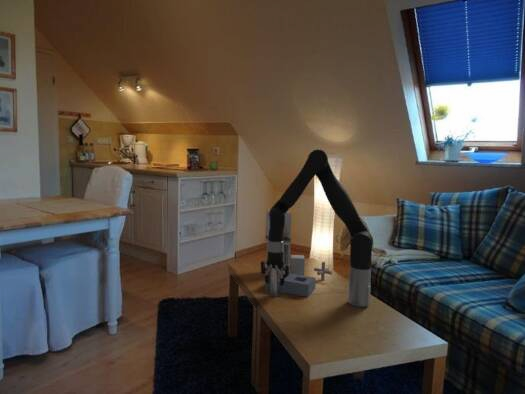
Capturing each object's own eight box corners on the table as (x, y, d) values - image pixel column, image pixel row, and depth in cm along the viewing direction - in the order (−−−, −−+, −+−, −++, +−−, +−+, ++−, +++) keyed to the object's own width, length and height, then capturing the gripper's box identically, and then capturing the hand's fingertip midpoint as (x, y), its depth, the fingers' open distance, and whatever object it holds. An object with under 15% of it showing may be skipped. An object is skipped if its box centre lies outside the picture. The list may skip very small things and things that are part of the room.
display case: (264, 271, 227) (266, 210, 222) (282, 270, 230) (284, 210, 226) (270, 277, 216) (272, 213, 212) (289, 276, 219) (291, 213, 215)
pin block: (315, 289, 200) (315, 277, 199) (308, 297, 189) (308, 284, 188) (274, 282, 208) (274, 271, 208) (265, 289, 198) (265, 277, 197)
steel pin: (279, 295, 190) (280, 266, 189) (276, 298, 187) (277, 269, 185) (271, 293, 192) (272, 265, 190) (268, 296, 188) (269, 267, 187)
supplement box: (304, 281, 210) (305, 258, 209) (290, 281, 211) (290, 258, 209) (302, 277, 218) (303, 254, 216) (289, 277, 218) (290, 254, 216)
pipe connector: (326, 284, 207) (327, 266, 206) (309, 280, 213) (310, 262, 212) (335, 280, 215) (336, 262, 213) (319, 276, 221) (319, 258, 219)
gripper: (292, 250, 187) (291, 284, 189) (264, 246, 193) (263, 279, 195) (287, 253, 180) (286, 289, 182) (258, 249, 186) (257, 284, 188)
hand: (274, 284), depth 189 cm, fingers open, 6 cm apart
